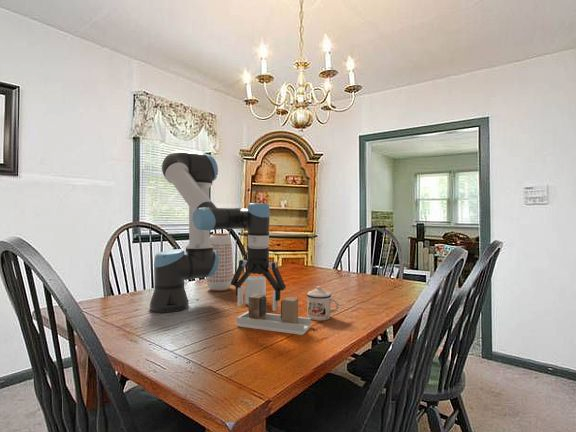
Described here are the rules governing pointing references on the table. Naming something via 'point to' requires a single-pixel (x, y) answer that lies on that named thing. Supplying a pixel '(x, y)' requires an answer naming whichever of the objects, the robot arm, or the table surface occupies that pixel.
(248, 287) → the mug
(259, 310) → the block
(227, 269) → the white patterned vase
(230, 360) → the table surface
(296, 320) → the rail
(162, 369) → the table surface
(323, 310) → the teacup with lid
